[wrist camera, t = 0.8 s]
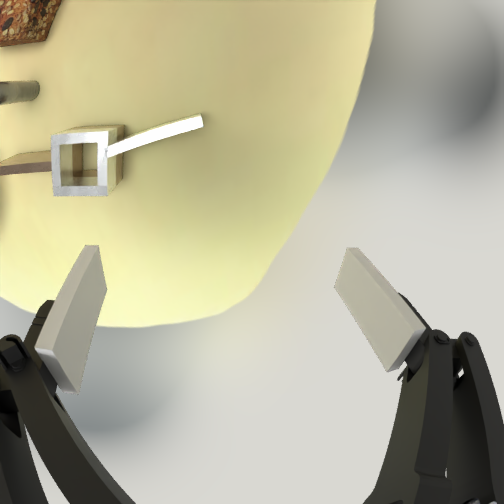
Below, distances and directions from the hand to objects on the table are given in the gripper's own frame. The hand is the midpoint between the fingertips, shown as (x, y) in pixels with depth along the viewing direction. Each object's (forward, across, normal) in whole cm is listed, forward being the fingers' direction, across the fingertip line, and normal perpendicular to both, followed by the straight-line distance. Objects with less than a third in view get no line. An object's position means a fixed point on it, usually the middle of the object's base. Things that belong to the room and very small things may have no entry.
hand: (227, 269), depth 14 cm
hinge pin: (+26, -27, +12) cm, 39 cm away
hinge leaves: (+26, -15, +2) cm, 30 cm away
